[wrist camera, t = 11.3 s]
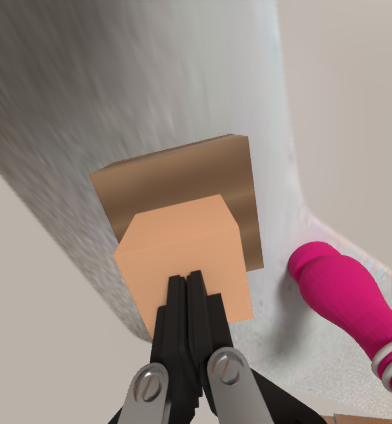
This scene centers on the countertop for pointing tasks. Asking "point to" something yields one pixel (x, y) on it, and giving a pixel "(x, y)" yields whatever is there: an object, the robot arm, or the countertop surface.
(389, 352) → the pepper mill
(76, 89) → the countertop surface
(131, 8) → the countertop surface
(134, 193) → the post block
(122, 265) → the cardboard-colored cube
